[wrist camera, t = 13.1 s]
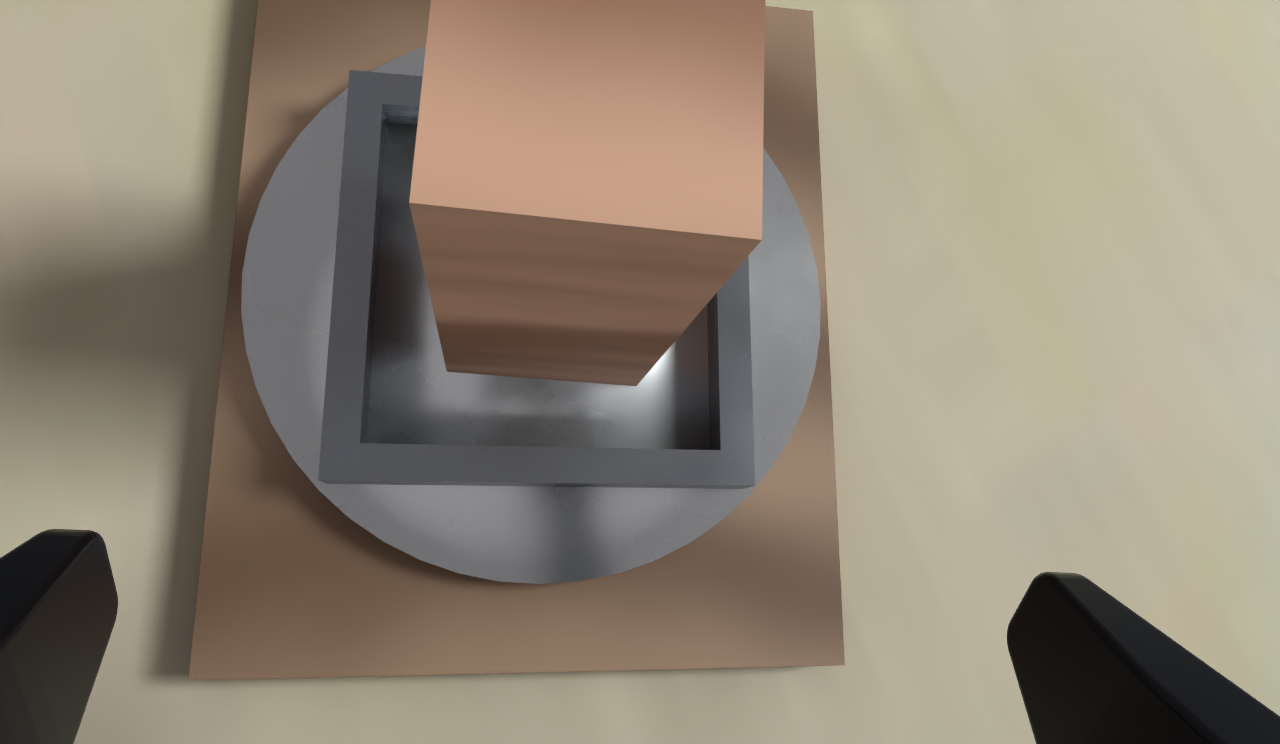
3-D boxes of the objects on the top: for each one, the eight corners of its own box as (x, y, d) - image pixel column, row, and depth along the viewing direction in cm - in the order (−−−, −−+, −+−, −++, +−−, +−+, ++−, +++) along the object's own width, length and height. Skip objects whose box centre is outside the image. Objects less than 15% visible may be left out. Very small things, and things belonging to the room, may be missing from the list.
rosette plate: (821, 581, 22) (850, 583, 20) (222, 584, 19) (195, 588, 18) (798, 72, 24) (822, 35, 23) (276, 22, 22) (258, -24, 20)
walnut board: (829, 661, 22) (844, 665, 21) (202, 674, 20) (188, 680, 19) (800, 31, 26) (812, 11, 25) (272, -24, 23) (263, -48, 23)
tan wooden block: (636, 386, 21) (761, 239, 11) (446, 371, 20) (409, 202, 11) (643, 212, 22) (765, -59, 12) (463, 193, 21) (443, -110, 12)
